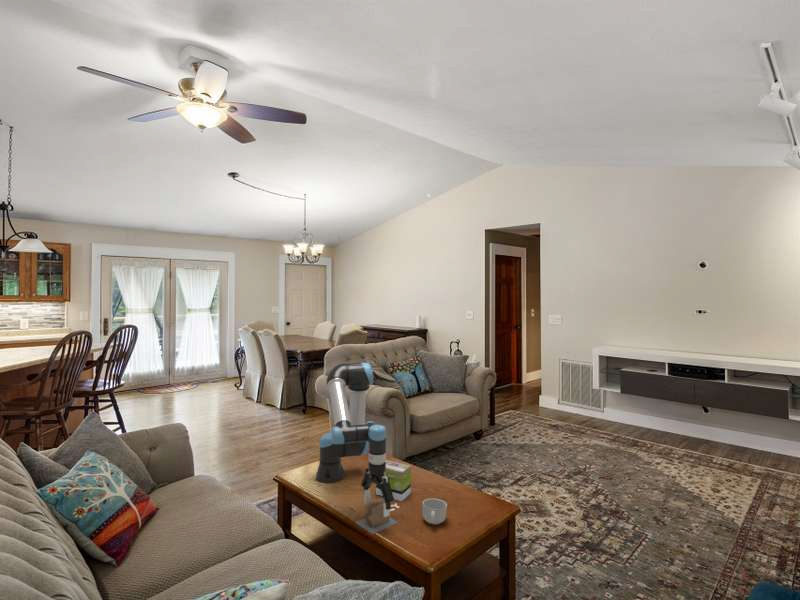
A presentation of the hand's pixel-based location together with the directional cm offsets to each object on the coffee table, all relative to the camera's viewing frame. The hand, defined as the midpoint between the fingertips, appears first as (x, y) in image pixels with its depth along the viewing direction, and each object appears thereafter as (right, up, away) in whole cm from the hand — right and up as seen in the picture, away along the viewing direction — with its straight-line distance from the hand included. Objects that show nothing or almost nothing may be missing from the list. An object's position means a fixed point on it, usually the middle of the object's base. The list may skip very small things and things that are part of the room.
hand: (376, 509), depth 191 cm
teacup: (+25, -6, 0) cm, 26 cm away
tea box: (+7, -6, +27) cm, 28 cm away
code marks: (+7, -6, +13) cm, 16 cm away
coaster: (0, -6, 0) cm, 6 cm away
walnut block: (0, -5, 0) cm, 5 cm away
